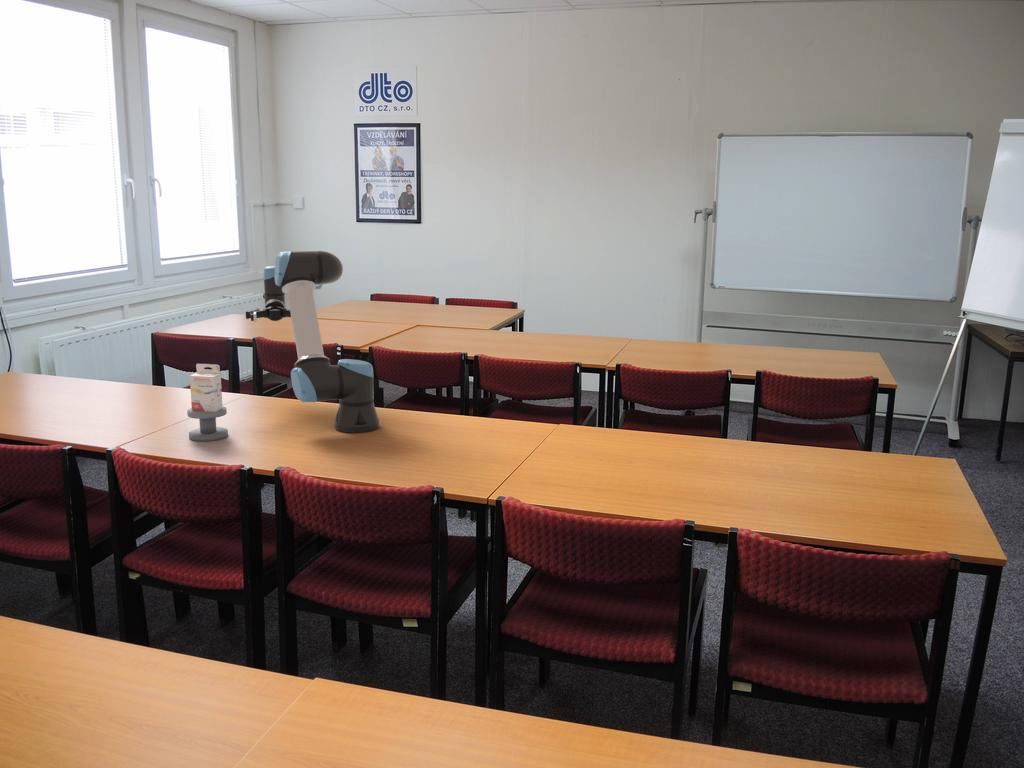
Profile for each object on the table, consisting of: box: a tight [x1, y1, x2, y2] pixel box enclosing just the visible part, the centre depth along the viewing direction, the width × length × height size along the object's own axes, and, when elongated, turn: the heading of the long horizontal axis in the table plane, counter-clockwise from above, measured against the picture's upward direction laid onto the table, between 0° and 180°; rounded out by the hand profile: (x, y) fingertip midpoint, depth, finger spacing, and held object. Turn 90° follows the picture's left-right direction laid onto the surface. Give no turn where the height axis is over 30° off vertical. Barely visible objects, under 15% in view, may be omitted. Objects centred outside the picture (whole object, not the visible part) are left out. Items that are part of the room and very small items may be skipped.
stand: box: [186, 405, 229, 442], centre depth 271 cm, size 12×12×9 cm
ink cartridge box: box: [189, 363, 223, 412], centre depth 269 cm, size 9×5×15 cm, turn 84°
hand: (274, 317), depth 295 cm, fingers open, 13 cm apart
